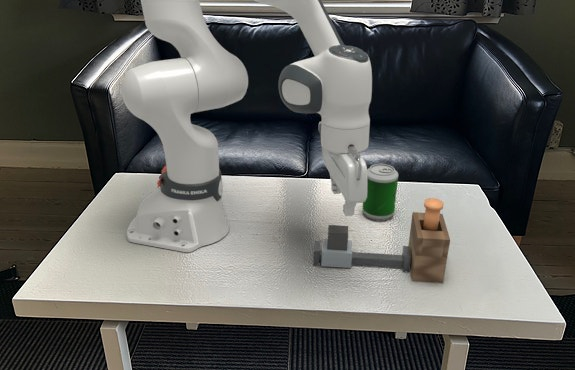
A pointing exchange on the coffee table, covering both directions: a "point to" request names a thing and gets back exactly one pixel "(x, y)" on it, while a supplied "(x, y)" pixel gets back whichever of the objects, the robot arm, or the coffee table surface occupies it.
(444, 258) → the wooden box with opening
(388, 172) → the soda can
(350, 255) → the carriage
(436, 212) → the plunger
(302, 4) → the robot arm
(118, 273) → the coffee table surface
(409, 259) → the rail
